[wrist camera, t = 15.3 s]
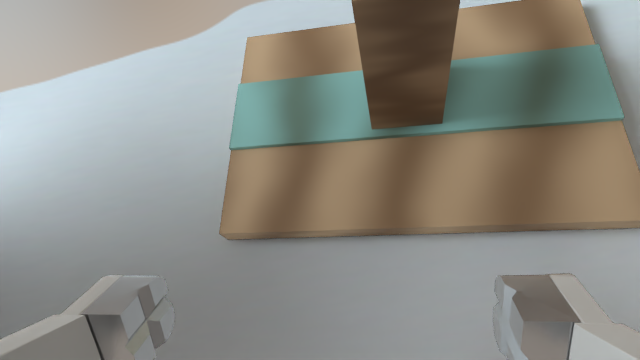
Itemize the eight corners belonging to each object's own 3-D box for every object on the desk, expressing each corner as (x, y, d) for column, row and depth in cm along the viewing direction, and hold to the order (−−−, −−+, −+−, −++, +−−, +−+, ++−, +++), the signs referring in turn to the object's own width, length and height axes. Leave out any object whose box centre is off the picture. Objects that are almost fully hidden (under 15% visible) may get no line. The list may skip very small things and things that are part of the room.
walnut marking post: (371, 129, 23) (348, -17, 14) (370, 75, 25) (348, -86, 16) (442, 123, 22) (465, -35, 13) (435, 68, 24) (451, -106, 15)
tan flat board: (227, 239, 24) (216, 232, 22) (253, 49, 30) (245, 34, 28) (642, 227, 19) (660, 217, 18) (570, 8, 26) (579, -12, 24)
